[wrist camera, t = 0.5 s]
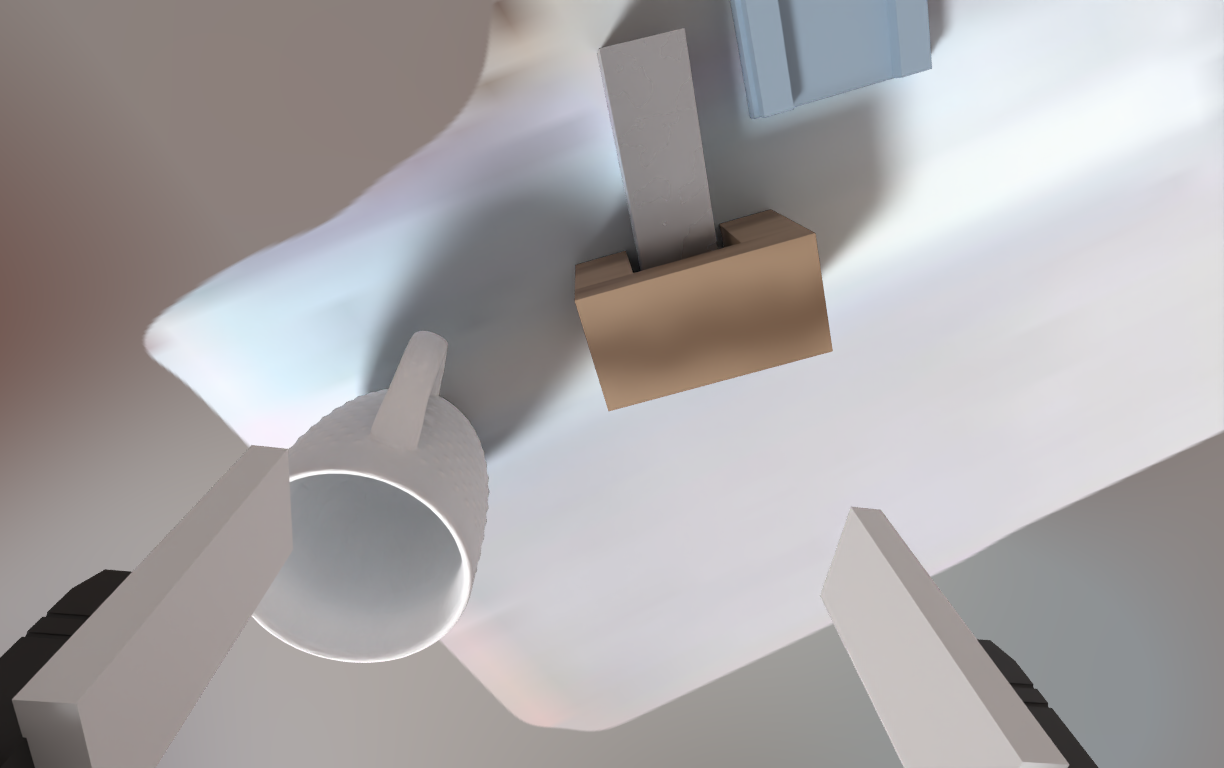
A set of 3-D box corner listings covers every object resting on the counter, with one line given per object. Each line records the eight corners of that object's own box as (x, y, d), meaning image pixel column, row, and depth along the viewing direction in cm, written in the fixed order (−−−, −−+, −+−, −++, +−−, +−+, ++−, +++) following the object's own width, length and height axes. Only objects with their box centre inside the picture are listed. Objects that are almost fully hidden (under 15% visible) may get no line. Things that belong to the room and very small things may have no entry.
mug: (356, 273, 37) (249, 353, 25) (542, 330, 39) (526, 430, 27) (314, 487, 42) (209, 638, 30) (479, 528, 44) (442, 686, 32)
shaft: (596, 54, 34) (599, 48, 30) (672, 36, 33) (684, 27, 30) (651, 325, 39) (658, 347, 36) (716, 311, 39) (730, 332, 36)
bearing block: (575, 264, 37) (574, 300, 31) (770, 209, 37) (815, 233, 30) (603, 358, 40) (608, 411, 33) (787, 308, 39) (832, 351, 32)
